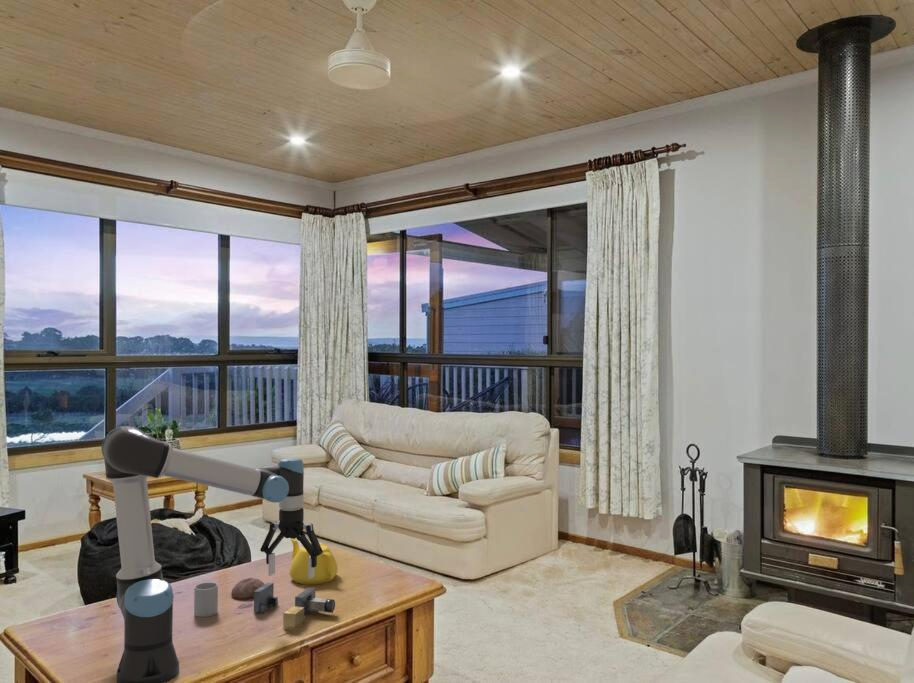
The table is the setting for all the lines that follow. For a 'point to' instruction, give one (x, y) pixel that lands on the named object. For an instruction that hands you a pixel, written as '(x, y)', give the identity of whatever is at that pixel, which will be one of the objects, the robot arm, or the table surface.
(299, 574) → the teapot
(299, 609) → the block
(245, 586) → the decorative stone
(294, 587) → the table surface
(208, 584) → the cup
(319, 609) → the shaft
